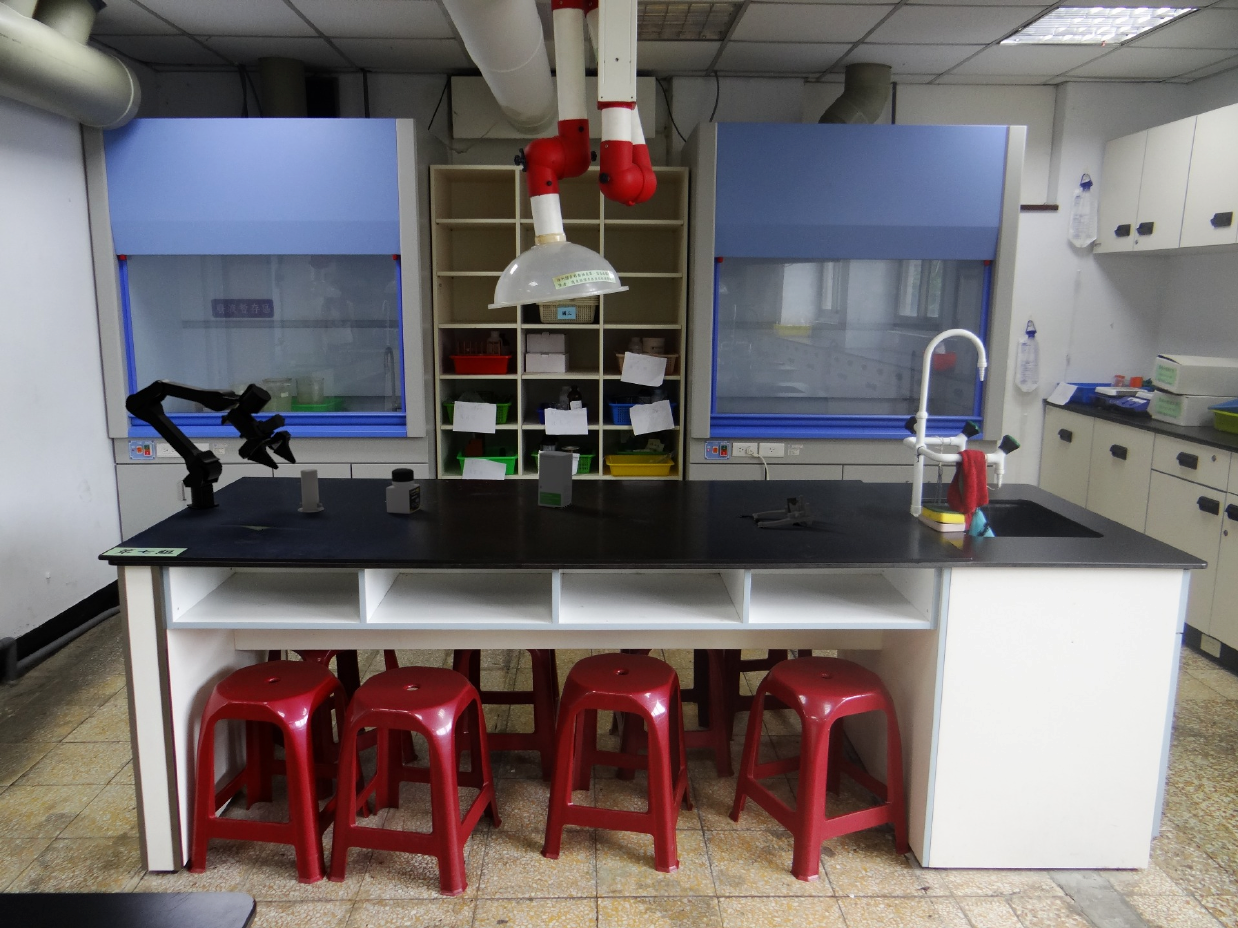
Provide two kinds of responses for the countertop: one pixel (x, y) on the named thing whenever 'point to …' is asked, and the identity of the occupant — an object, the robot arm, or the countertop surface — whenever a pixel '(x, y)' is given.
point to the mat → (256, 527)
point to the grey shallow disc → (310, 511)
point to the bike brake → (792, 510)
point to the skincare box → (555, 478)
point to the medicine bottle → (403, 492)
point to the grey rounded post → (310, 490)
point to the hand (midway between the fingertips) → (286, 465)
